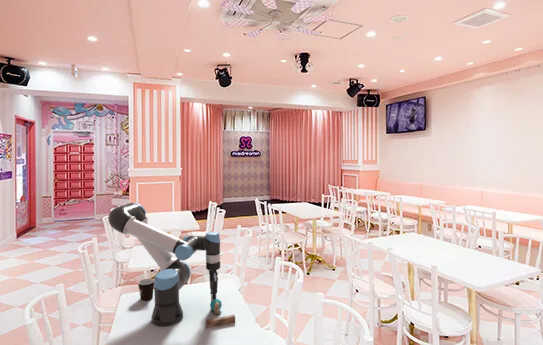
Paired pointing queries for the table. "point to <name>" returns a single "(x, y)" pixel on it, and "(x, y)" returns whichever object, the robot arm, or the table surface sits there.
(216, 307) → the pin
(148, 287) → the coffee mug
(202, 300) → the table surface
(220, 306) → the ball
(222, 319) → the back wall
